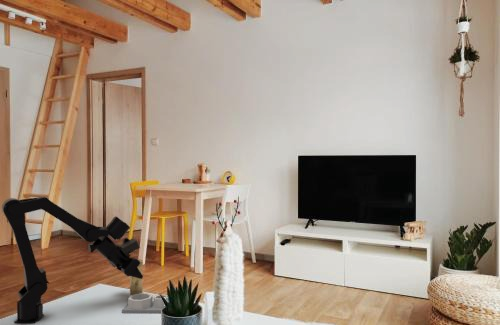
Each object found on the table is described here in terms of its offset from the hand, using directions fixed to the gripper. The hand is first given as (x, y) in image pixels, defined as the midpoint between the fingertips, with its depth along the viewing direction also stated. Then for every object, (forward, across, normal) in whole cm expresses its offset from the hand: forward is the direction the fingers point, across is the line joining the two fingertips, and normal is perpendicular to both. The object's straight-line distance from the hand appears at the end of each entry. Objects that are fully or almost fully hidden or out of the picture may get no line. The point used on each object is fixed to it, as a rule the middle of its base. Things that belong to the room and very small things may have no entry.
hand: (139, 276), depth 156 cm
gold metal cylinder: (+4, 0, +6) cm, 7 cm away
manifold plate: (+5, -13, +7) cm, 15 cm away
